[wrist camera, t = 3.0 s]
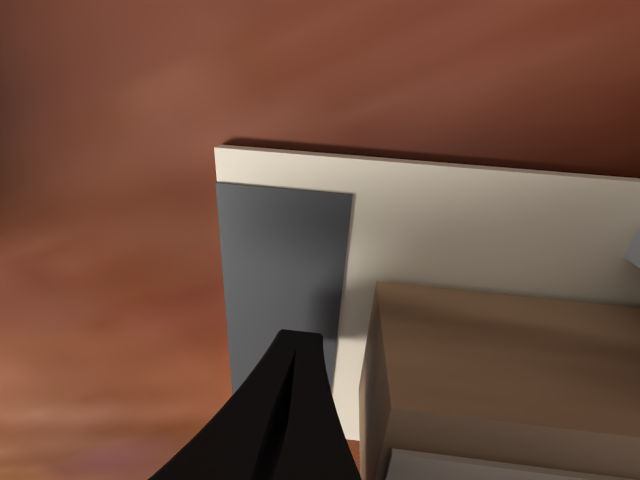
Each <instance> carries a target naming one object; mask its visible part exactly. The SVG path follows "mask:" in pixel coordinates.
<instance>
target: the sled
mask: <svg viewBox="0 0 640 480" xmlns="http://www.w3.org/2000/svg"><path fill="white" fill-rule="evenodd" d="M359 438H360V476H361V479H362V480H640V308H637V307H627V306H617V305H607V304H597V303H587V302H577V301H567V300H557V299H548V298H538V297H528V296H518V295H508V294H498V293H488V292H478V291H469V290H459V289H449V288H439V287H429V286H419V285H409V284H399V283H389V282H380V281H376V285H375V291H374V297H373V304H372V310H371V316H370V322H369V328H368V334H367V340H366V346H365V353H364V359H363V365H362V371H361V377H360V383H359Z"/></svg>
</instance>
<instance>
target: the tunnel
mask: <svg viewBox="0 0 640 480" xmlns="http://www.w3.org/2000/svg"><path fill="white" fill-rule="evenodd" d="M214 149H215V162H216V175H217V183H216V192H217V205H218V218H219V230H220V243H221V256H222V268H223V281H224V293H225V306H226V319H227V331H228V344H229V357H230V369H231V382H232V394H234V393H235V392H236V391H237V389H238V388H239V387H240V386H241V385H242V383H243V382H244V381H245V380H246V378H247V377H248V376H249V374H250V373H251V372H252V370H253V369H254V368H255V366H256V365H257V364H258V362H259V361H260V360H261V358H262V357H263V355H264V354H265V352H266V351H267V349H268V348H269V346H270V345H271V343H272V342H273V340H274V338H275V337H276V335H277V333H278V331H280V330H281V329H285V330H295V331H304V332H313V333H321V335H322V336H323V350H324V359H325V365H326V371H327V376H328V380H329V384H330V388H331V392H332V396H333V400H334V404H335V407H336V410H337V414H338V417H339V420H340V423H341V426H342V429H343V432H344V435H345V438H346V439H350V440H358V441H360V438H359V383H360V377H361V371H362V365H363V359H364V353H365V346H366V340H367V334H368V328H369V322H370V316H371V310H372V304H373V297H374V291H375V285H376V281H380V282H389V283H399V284H409V285H419V286H429V287H439V288H449V289H459V290H469V291H478V292H488V293H498V294H508V295H518V296H528V297H538V298H548V299H557V300H567V301H577V302H587V303H597V304H607V305H617V306H627V307H637V308H640V178H628V177H616V176H603V175H591V174H579V173H566V172H554V171H542V170H529V169H517V168H505V167H492V166H480V165H468V164H455V163H443V162H431V161H419V160H406V159H394V158H382V157H369V156H357V155H345V154H332V153H320V152H308V151H295V150H283V149H271V148H258V147H246V146H234V145H219V146H216V147H214Z"/></svg>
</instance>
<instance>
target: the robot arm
mask: <svg viewBox="0 0 640 480" xmlns="http://www.w3.org/2000/svg"><path fill="white" fill-rule="evenodd" d="M148 480H362V479H361V476H360V474H359V471H358V469H357V467H356V464H355V462H354V459H353V457H352V454H351V451H350V449H349V446H348V443H347V441H346V438H345V435H344V432H343V429H342V426H341V423H340V420H339V417H338V414H337V410H336V407H335V404H334V400H333V396H332V392H331V388H330V384H329V380H328V376H327V371H326V365H325V359H324V350H323V336H322V335H321V333H313V332H304V331H295V330H285V329H281V330H280V331H278V333H277V335H276V337H275V338H274V340H273V342H272V343H271V345H270V346H269V348H268V349H267V351H266V352H265V354H264V355H263V357H262V358H261V360H260V361H259V362H258V364H257V365H256V366H255V368H254V369H253V370H252V372H251V373H250V374H249V376H248V377H247V378H246V380H245V381H244V382H243V383H242V385H241V386H240V387H239V388H238V389H237V391H236V392H235V393H234V394H233V395H232V397H231V398H230V399H229V400H228V401H227V402H226V404H225V405H224V406H223V407H222V408H221V409H220V410H219V412H218V413H217V414H216V415H215V416H214V417H213V418H212V419H211V420H210V421H209V422H208V423H207V424H206V425H205V427H204V428H203V429H202V430H201V431H200V432H199V433H198V434H197V435H196V436H195V437H194V438H193V439H192V440H191V441H190V442H189V443H187V444H186V445H185V446H184V447H183V448H182V449H181V450H180V451H179V452H178V453H177V454H176V455H175V456H174V457H173V458H172V459H171V460H170V461H168V462H167V463H166V464H165V465H164V466H163V467H162V468H161V469H160V470H158V471H157V472H156V473H155V474H154V475H153V476H152V477H150V478H149V479H148Z"/></svg>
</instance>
